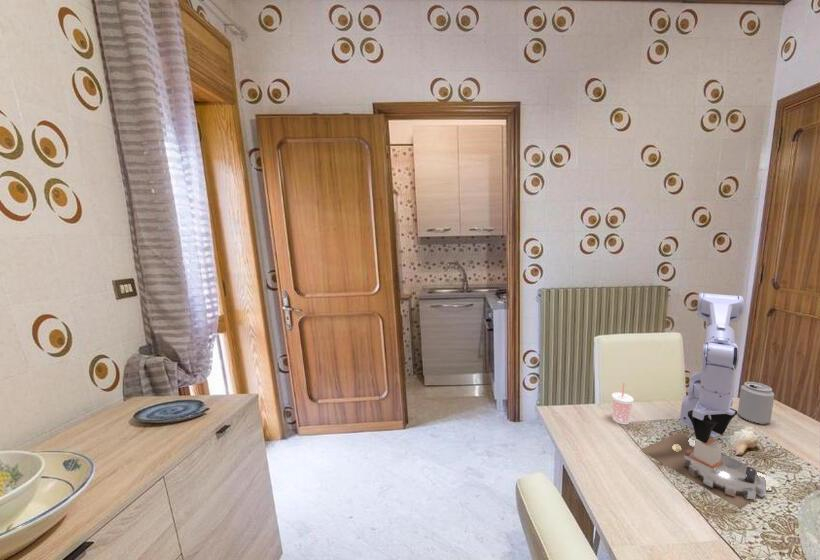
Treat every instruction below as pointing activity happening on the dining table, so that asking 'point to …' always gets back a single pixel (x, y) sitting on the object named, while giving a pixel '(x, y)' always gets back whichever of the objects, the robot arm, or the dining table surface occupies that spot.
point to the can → (756, 402)
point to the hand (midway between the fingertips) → (709, 436)
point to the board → (675, 461)
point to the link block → (708, 451)
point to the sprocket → (727, 475)
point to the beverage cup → (622, 407)
